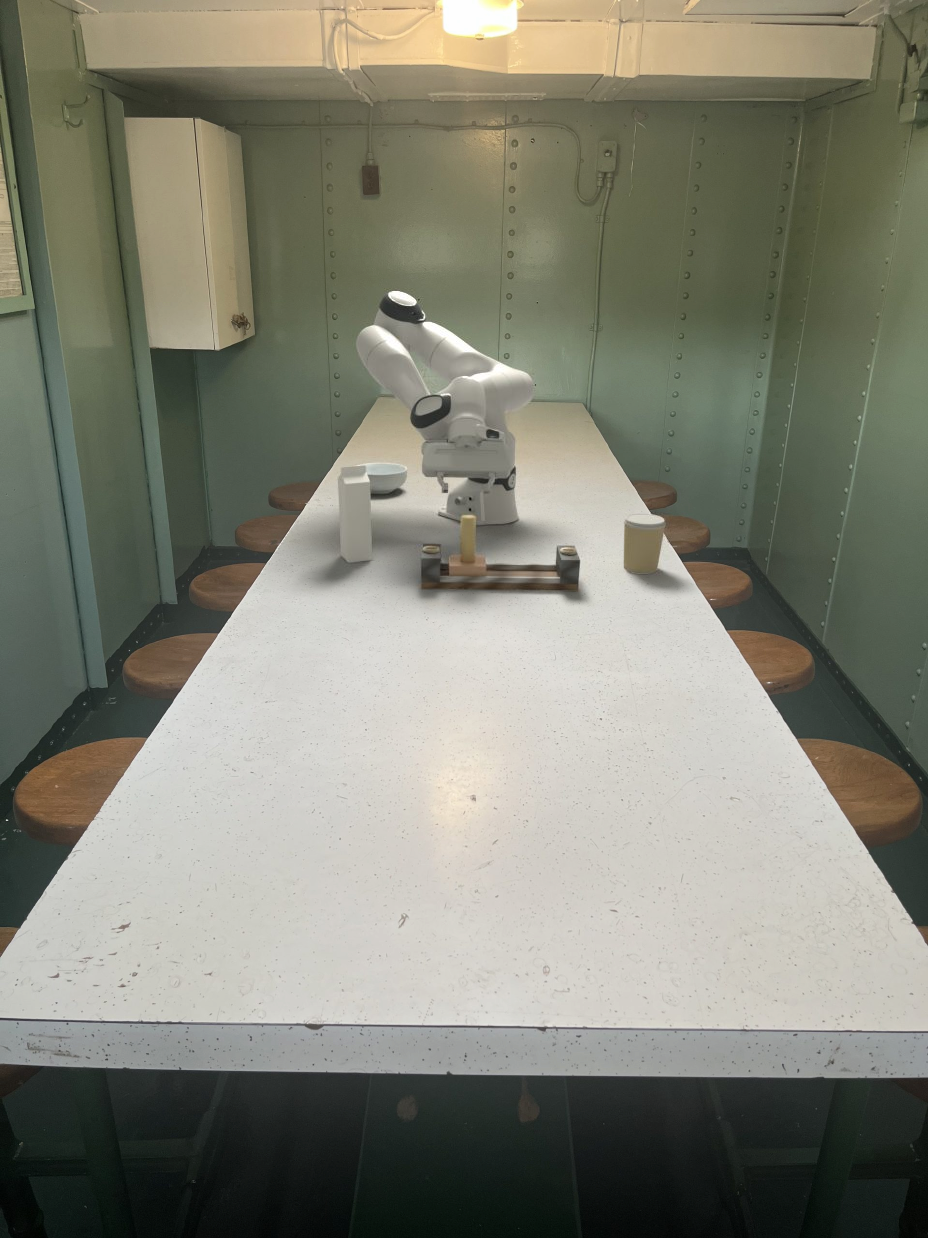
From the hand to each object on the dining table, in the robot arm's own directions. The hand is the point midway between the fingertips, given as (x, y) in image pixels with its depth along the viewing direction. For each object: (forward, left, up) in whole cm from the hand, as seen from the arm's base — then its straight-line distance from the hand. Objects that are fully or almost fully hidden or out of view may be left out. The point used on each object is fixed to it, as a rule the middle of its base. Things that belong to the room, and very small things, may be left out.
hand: (465, 492), depth 197 cm
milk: (-24, -11, -18) cm, 31 cm away
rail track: (+12, -5, -17) cm, 22 cm away
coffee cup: (+34, +22, -18) cm, 45 cm away
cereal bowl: (-59, +41, -18) cm, 74 cm away
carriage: (+6, -8, -16) cm, 19 cm away
